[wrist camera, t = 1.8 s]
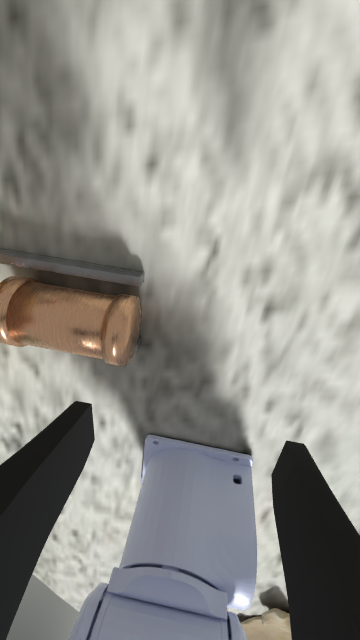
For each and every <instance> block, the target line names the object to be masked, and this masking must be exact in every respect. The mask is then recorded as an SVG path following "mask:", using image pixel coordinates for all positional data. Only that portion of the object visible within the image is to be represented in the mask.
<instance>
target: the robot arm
mask: <svg viewBox="0 0 360 640" xmlns="http://www.w3.org/2000/svg"><path fill="white" fill-rule="evenodd" d="M94 440H95V437H94V426H93V415H92V404H90V403H84V402H79V401H75V402H74V403H73V404H72V405H70V406H69V407H68V408H67V409H66V410H65V411H64V412H63V413H62V414H61V415H59V416H58V417H57V418H56V419H55V420H54V421H53V422H52V423H50V424H49V425H48V426H47V427H46V428H45V429H44V430H43V431H41V432H40V433H39V434H38V435H37V436H36V437H34V438H33V439H32V440H31V441H30V442H28V443H27V444H26V445H25V446H24V447H23V448H21V449H20V450H19V451H18V452H16V453H15V454H14V455H13V456H11V457H10V458H9V459H7V460H6V461H5V462H4V463H2V464H1V465H0V640H6V638H7V635H8V633H9V630H10V627H11V625H12V622H13V619H14V617H15V615H16V612H17V610H18V607H19V604H20V602H21V600H22V597H23V595H24V592H25V590H26V587H27V585H28V582H29V580H30V577H31V575H32V573H33V571H34V568H35V566H36V563H37V561H38V559H39V556H40V554H41V552H42V549H43V547H44V545H45V543H46V541H47V539H48V536H49V534H50V532H51V530H52V528H53V526H54V524H55V523H56V521H57V519H58V517H59V515H60V513H61V511H62V509H63V507H64V505H65V503H66V501H67V499H68V497H69V495H70V494H71V492H72V490H73V488H74V486H75V484H76V482H77V480H78V478H79V476H80V474H81V472H82V470H83V468H84V466H85V463H86V461H87V458H88V456H89V453H90V451H91V448H92V445H93V443H94ZM252 464H253V458H252V457H251V456H250V455H247V454H242V453H237V452H232V451H227V450H223V449H218V448H213V447H208V446H203V445H199V444H194V443H189V442H184V441H179V440H174V439H170V438H165V437H160V436H155V435H147V436H146V439H145V447H144V460H143V472H142V485H141V490H140V494H139V497H138V501H137V505H136V508H135V512H134V516H133V519H132V523H131V527H130V530H129V534H128V538H127V541H126V545H125V549H124V552H123V556H122V560H121V563H120V567H119V568H117V567H114V568H113V571H112V574H111V578H110V581H109V584H107V583H100V584H99V585H98V586H97V587H96V589H95V590H93V591H92V592H91V593H90V594H89V595H88V596H87V598H86V599H85V601H84V603H83V605H82V607H81V609H80V612H79V614H78V617H77V619H76V621H75V624H74V626H73V630H72V632H71V635H70V638H69V640H247V636H246V633H245V631H244V629H243V627H242V625H241V624H240V622H239V619H238V617H237V615H236V614H235V613H232V612H228V611H227V608H234V609H239V610H247V609H248V608H249V607H250V605H251V603H252V599H253V596H254V591H255V584H256V573H257V537H256V524H255V511H254V498H253V485H252V471H251V467H252ZM272 495H273V508H274V515H275V521H276V527H277V533H278V539H279V546H280V552H281V558H282V564H283V570H284V576H285V582H286V589H287V596H288V604H289V615H290V626H291V638H292V640H360V535H359V534H358V532H357V531H356V529H355V528H354V526H353V524H352V523H351V521H350V520H349V518H348V517H347V515H346V513H345V512H344V510H343V509H342V507H341V505H340V504H339V502H338V501H337V499H336V497H335V496H334V494H333V493H332V491H331V489H330V488H329V486H328V484H327V482H326V481H325V479H324V477H323V476H322V474H321V472H320V470H319V469H318V467H317V465H316V463H315V462H314V460H313V458H312V456H311V455H310V453H309V451H308V449H307V448H306V446H305V445H304V444H302V443H297V442H291V441H286V443H285V445H284V447H283V449H282V452H281V454H280V456H279V459H278V461H277V463H276V466H275V468H274V470H273V473H272Z"/></svg>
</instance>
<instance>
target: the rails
mask: <svg viewBox="0 0 360 640" xmlns="http://www.w3.org/2000/svg"><path fill="white" fill-rule="evenodd" d="M0 263H1V264H7V265H13V266H19V267H25V268H31V269H37V270H43V271H49V272H55V273H61V274H67V275H73V276H79V277H85V278H91V279H97V280H103V281H109V282H115V283H121V284H127V285H133V286H139V287H140V285H141V284H142V283H143V281H144V272H141V271H135V270H129V269H122V268H116V267H110V266H104V265H98V264H92V263H86V262H79V261H73V260H67V259H61V258H55V257H49V256H43V255H36V254H30V253H24V252H18V251H12V250H6V249H0ZM140 345H141V338H140V337H138V341H137V345H136V348H135V351H134V352H137V351H138V349H139V347H140Z"/></svg>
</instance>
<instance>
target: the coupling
mask: <svg viewBox="0 0 360 640" xmlns="http://www.w3.org/2000/svg"><path fill="white" fill-rule="evenodd" d="M140 325H141V304H140V300H139V298H138V297H137V296H132V295H126V294H118V295H117V296H113V295H107V294H101V293H95V292H89V291H83V290H78V289H72V288H66V287H60V286H54V285H48V284H42V283H40V282H39V281H38V280H36V279H32V278H26V277H20V276H11V277H8V278H6V279H5V280H3V281H2V282H1V283H0V343H2V344H8V345H13V346H18V347H23V346H26V345H30V346H36V347H41V348H46V349H52V350H57V351H62V352H67V353H73V354H78V355H83V356H89V357H94V358H99V359H104V361H105V363H107V364H113V365H118V366H126V365H127V364H128V362H129V361H130V359H131V358H132V356H133V353H134V351H135V348H136V345H137V341H138V337H139V332H140Z"/></svg>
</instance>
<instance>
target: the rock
mask: <svg viewBox="0 0 360 640" xmlns="http://www.w3.org/2000/svg"><path fill="white" fill-rule="evenodd" d="M240 624H241V625H242V627H243V629H244V631H245V633H246V636H247V640H292V638H291V626H290V615H289V613H286V612H284V611H282V610H280V609H277V608H273V609H270V610H268V611H267V612H265V613H263V614H262V616H256V617H252V618H249V619H247V620H245V621H243V622H241V623H240Z"/></svg>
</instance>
